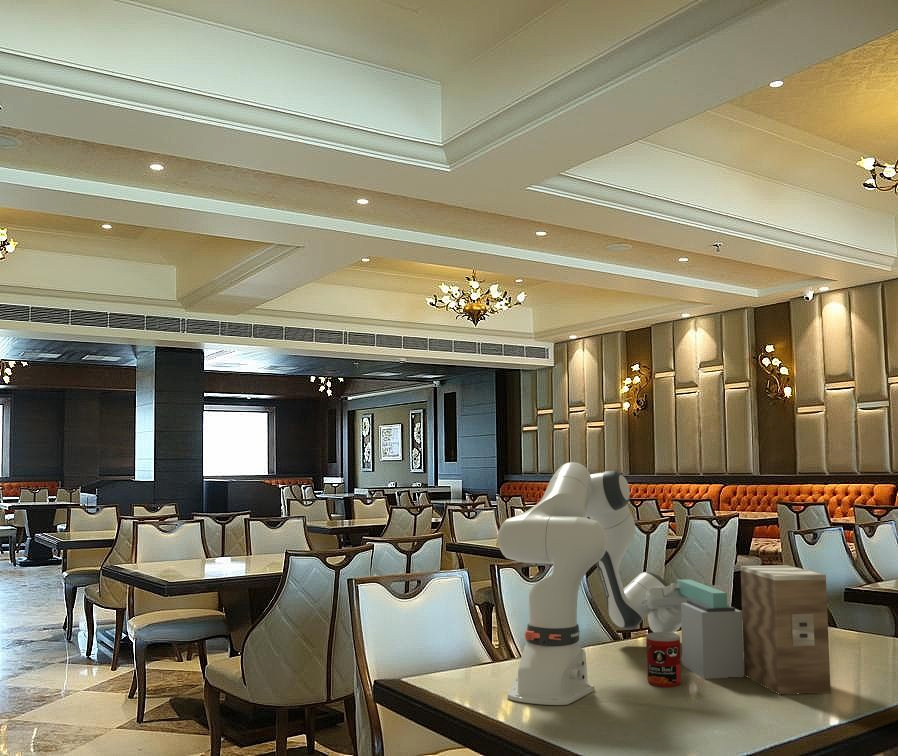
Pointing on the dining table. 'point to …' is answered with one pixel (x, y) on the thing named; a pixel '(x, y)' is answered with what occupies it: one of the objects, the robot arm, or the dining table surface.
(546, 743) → the dining table surface
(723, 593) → the long teal bar
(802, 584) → the stand
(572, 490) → the robot arm
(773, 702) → the dining table surface
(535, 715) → the dining table surface
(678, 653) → the canned food
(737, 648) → the phone dock
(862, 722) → the dining table surface
